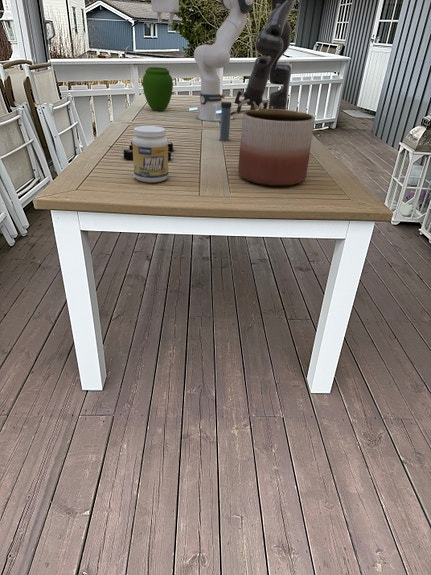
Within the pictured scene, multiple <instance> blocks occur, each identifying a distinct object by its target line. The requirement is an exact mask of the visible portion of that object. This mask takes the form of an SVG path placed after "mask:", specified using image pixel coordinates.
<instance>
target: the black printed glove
mask: <svg viewBox="0 0 431 575" xmlns="http://www.w3.org/2000/svg"><path fill="white" fill-rule="evenodd" d="M128 148H129V149H123V158H124V159H126V160H127V161H133V145H132V140H131V143H130V145H129V147H128ZM172 152H174V143H173V142H172V141H168V161H171V160H172Z"/></svg>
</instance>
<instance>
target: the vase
mask: <svg viewBox="0 0 431 575" xmlns="http://www.w3.org/2000/svg"><path fill="white" fill-rule="evenodd" d="M141 84H142V89H143V94H144V97H145V100H146V102H147V104H148V107H149V108H150V109H151V110H152V111H154V112H164V111H165V110H166V109H167V108H168V106H169V104H170V102H171V99H172V95H173V88H174V82H173V77H172V76H171V74H170V70H169V69H167V67H155V66H154V67H151V66H149V67H148V68H147V69H145V73H144V74H143V76H142V81H141Z"/></svg>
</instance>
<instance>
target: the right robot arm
mask: <svg viewBox="0 0 431 575" xmlns="http://www.w3.org/2000/svg"><path fill="white" fill-rule="evenodd" d="M296 2H297V0H270V10H271V11H270V14H269V16H268V17H267V20H266V24H265V26H264V28H263V29H262V30H261V31H260V33H259V34H258V35H257V37H256V39H255V42H254V48H255V51H256V52H257V53H259V54H262V55H264V56H262V55H261V56H258V57H256V58H255V59H254V64H253V68H252V70H251V72H250V75H249V78H248V82H247V86H246V90H245V91H243V89H242V88H239V90H238V91H237V94H236V97H235V100H234V104H236V105H237V109H236V111H237V112H238V113H237V114H241V112H240V111H242V107H243V106H244V105H248V106H250V107H251V106H252V107H255V109H261V105H260V104H262V106H263V109H282V110H287V105H288V96H289V88H290V81H291V76H292V66H291V64H284V63H278V62H279V60H280V59H281V57H282V56H283V55H284V54H285V53H286V52H287V51H288V49H289V47H290V45H291V40H292V27H291V25H290V22H289V21H288V18H289V15H290V14H291V12H292V10H293V8H294V6H295V4H296ZM268 82H269V84H271V85H279V86H282V87H281V88H279V89H278V90H275V91H272V92H270V93H269V99H264V98H263V96H264V94H265V90H266V87H267V85H268ZM240 97H243V98H242V99H241V100H240Z"/></svg>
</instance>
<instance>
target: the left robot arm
mask: <svg viewBox="0 0 431 575" xmlns="http://www.w3.org/2000/svg"><path fill="white" fill-rule="evenodd" d="M219 1H220V5H221V7H222V8H224V9H225V10H227V11H229V13H228V16H227V17H226V19H225V20H224V21H223V22H222V24H221V25H220V27H219V28H218V30H216V33H215V38H216V39H215V42H214V43H213V44H201V45H198V46H197V47H195V49H194V52H193V58H194V61H195V62H196V65H197V66H198V69H199V74H200V94H199V102H200V104H199V111H198V116H197V119H198V120H201V121H209V122H221V108H222V107H221V102H223V101H222V99H223V100H225V98H226V96H225V94H221V79H220V77H219V75H218V73H217V69H222V68H225V67H227V66H228V65H229V63H230V61H231V53H230V51H231V49H232V47H233V45H234V44H235V42H236V41H237V40H238V38H240V35H241V34H242V32H243V31H244V29H245V27H246V25H247V21H248V16H247V14H249V13H250V11H251V9H252V7H253V6H254V3H255V0H219ZM150 4H151V6H150V7H151V11H152V13H156V17H157V23H158V24H163V19H162V13H168V15H169V16H168V19H167V23H168V24H173V23H174V17H175V13H179V11H180V1H179V0H150ZM188 109H189V111H193V110H198V107H193V108H192V107H191V108H188ZM245 111H246V110H241V111H240V113H243V112H245ZM233 114H238V112H237V110H235V111H231V112H230V120H234V117H233V116H232V115H233Z"/></svg>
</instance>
